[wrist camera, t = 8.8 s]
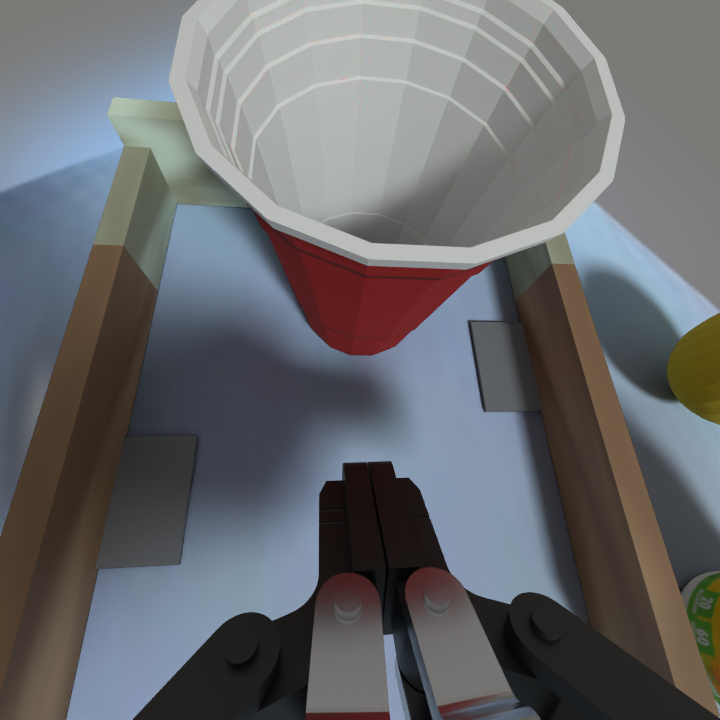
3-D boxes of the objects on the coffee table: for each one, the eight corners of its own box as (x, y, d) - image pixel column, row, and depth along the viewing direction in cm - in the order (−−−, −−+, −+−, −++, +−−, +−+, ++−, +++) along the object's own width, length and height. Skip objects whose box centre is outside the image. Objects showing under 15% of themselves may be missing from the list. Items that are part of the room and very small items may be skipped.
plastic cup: (227, 385, 17) (49, 155, 6) (285, 216, 21) (247, -102, 10) (448, 429, 17) (684, 292, 6) (462, 254, 21) (614, -14, 10)
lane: (26, 725, 12) (-165, 869, 7) (159, 187, 21) (113, 97, 16) (628, 668, 14) (778, 747, 9) (510, 208, 23) (557, 134, 19)
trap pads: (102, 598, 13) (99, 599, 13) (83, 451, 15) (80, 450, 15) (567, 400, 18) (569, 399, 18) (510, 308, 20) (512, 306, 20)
